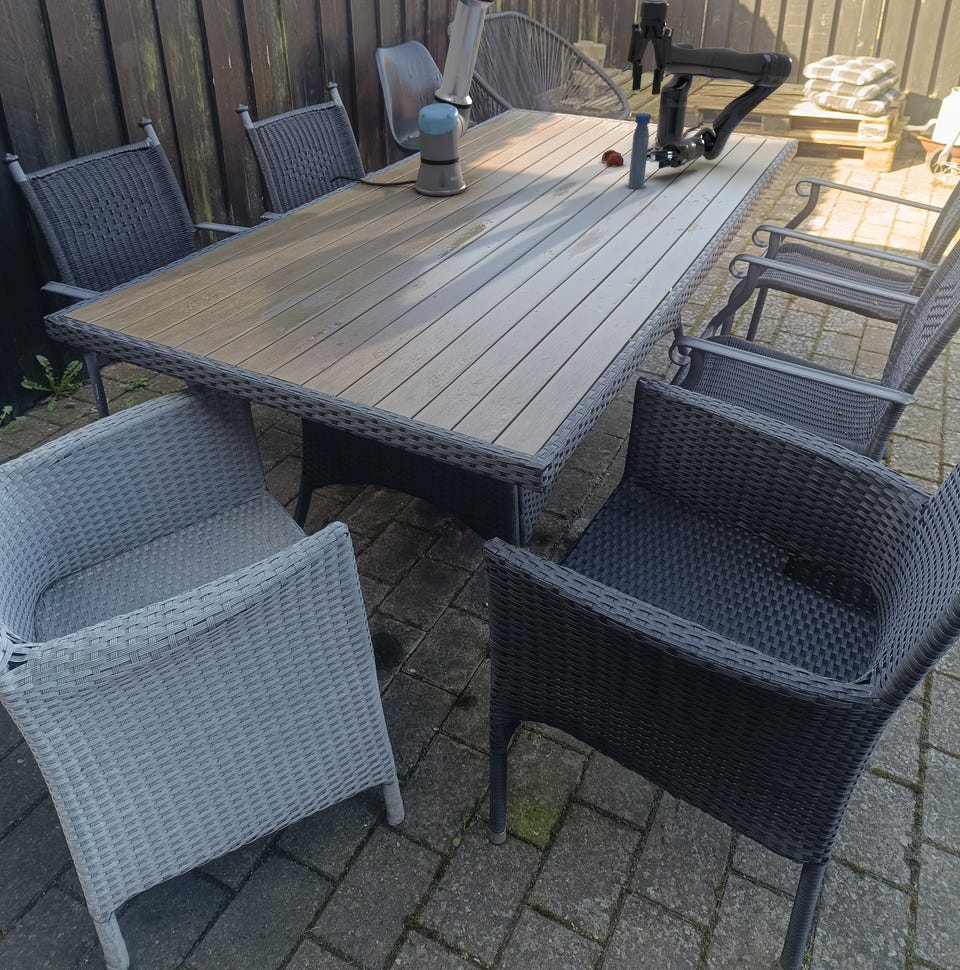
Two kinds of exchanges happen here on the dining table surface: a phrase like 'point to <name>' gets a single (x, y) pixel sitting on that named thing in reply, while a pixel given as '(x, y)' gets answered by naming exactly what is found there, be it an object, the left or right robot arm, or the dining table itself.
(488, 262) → the dining table surface
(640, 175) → the bottle
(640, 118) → the cap
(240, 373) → the dining table surface
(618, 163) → the dental model
